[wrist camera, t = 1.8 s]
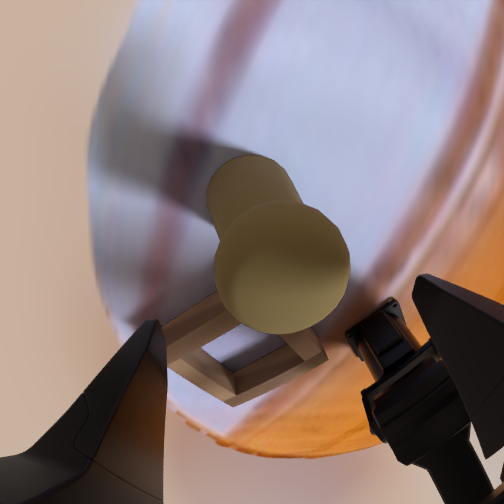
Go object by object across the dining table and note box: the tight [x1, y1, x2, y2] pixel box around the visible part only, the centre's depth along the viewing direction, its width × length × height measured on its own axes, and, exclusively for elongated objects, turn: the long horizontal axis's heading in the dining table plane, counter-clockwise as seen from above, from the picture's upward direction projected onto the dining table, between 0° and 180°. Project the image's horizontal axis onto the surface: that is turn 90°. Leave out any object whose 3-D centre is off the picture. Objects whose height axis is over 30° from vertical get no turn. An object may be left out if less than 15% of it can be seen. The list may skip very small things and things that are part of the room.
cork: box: [207, 155, 350, 334], centre depth 14 cm, size 6×6×11 cm
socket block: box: [162, 290, 329, 407], centre depth 23 cm, size 11×11×3 cm
